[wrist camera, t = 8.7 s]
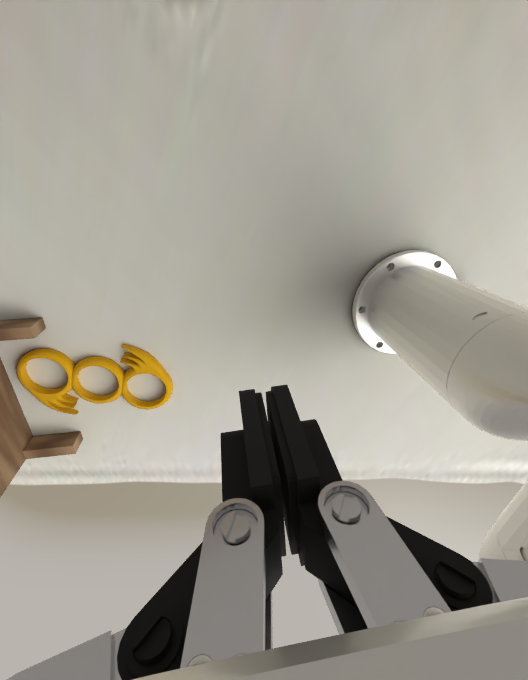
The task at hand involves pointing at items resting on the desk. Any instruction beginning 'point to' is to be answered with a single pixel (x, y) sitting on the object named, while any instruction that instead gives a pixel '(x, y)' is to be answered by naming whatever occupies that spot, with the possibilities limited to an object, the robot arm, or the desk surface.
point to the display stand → (10, 423)
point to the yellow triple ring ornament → (136, 360)
